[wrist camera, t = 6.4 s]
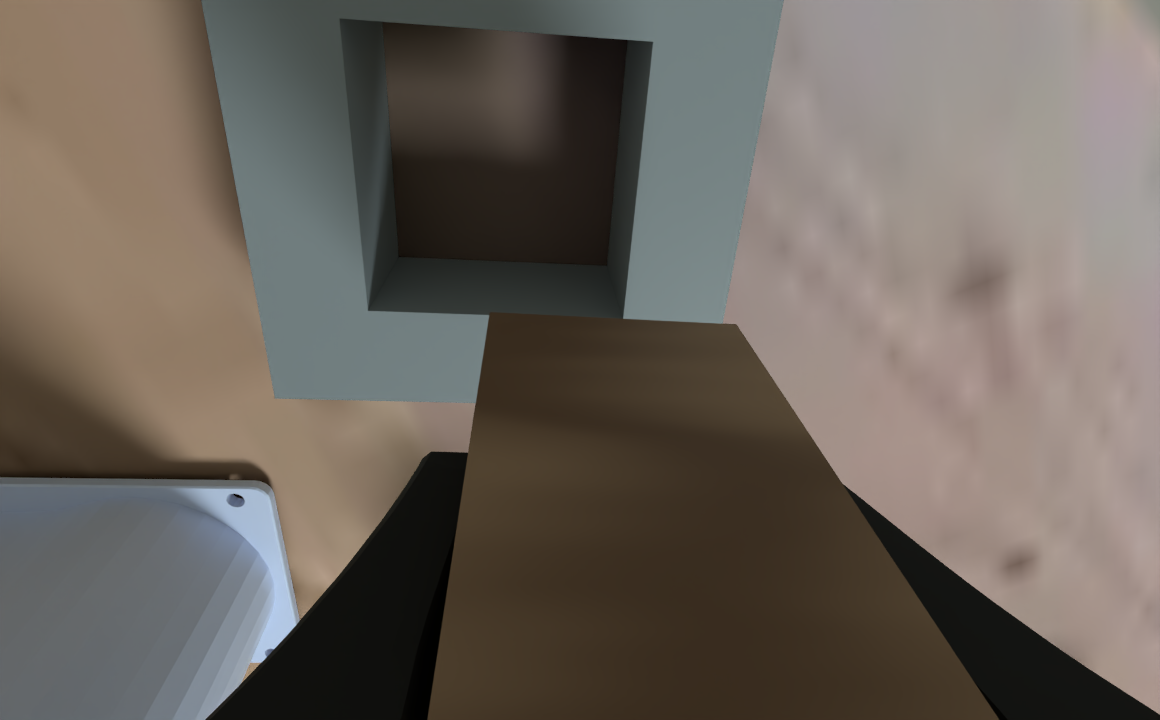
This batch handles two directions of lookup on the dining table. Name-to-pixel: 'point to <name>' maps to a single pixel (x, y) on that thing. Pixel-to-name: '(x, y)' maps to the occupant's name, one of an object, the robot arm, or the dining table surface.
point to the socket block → (472, 287)
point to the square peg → (668, 546)
